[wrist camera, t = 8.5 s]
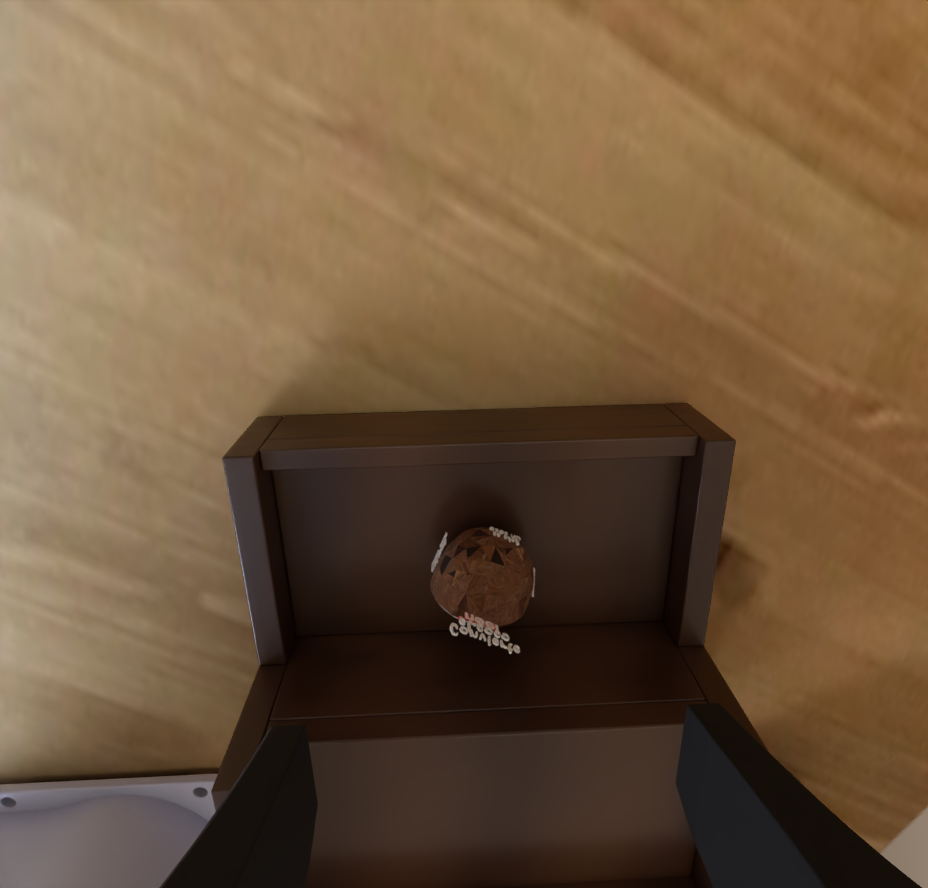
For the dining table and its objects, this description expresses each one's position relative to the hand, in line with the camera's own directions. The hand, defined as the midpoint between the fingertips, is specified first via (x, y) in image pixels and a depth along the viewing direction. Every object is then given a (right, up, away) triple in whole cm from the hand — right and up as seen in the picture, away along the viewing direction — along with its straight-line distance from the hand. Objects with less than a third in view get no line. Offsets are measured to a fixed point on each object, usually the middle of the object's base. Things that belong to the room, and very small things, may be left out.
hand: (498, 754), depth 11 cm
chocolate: (0, +3, +6) cm, 7 cm away
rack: (0, +1, +9) cm, 9 cm away
